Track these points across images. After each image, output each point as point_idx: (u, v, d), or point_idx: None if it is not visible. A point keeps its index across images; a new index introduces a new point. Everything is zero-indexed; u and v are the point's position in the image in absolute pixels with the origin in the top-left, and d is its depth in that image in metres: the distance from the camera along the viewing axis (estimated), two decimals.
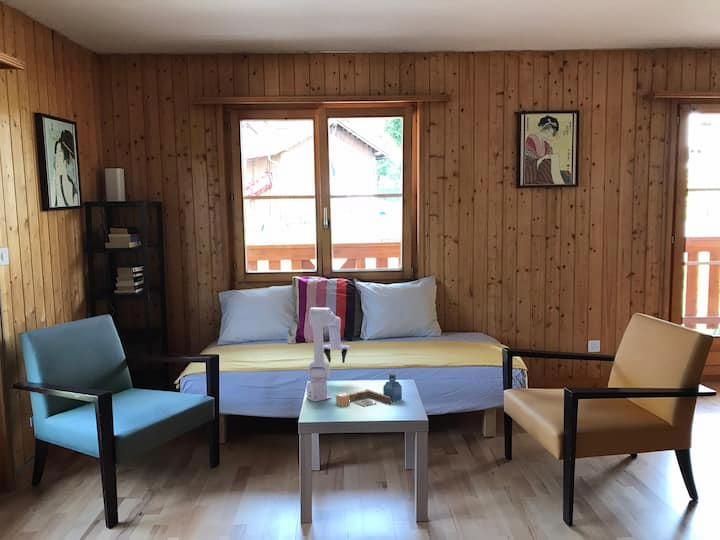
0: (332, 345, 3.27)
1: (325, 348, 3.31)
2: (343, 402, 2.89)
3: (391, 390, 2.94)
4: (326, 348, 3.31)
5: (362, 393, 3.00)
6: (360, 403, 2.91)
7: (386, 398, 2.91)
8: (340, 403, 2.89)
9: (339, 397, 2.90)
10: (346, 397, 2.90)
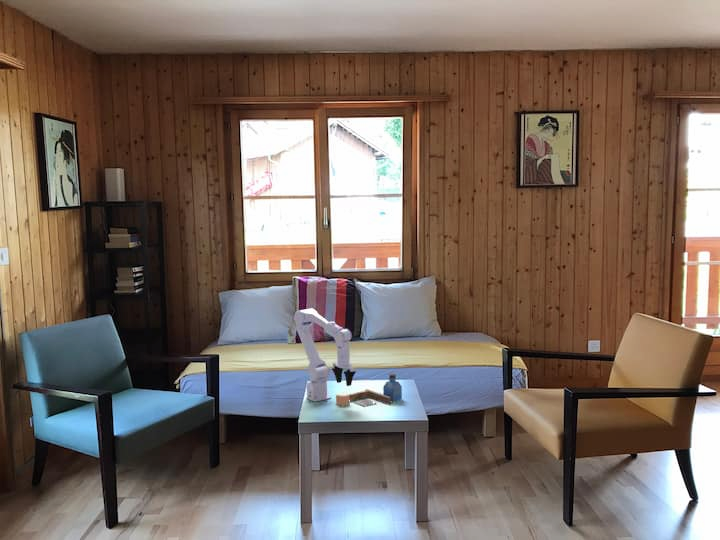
0: (337, 362, 2.89)
1: (336, 365, 2.95)
2: (343, 402, 2.89)
3: (391, 390, 2.94)
4: (336, 366, 2.94)
5: (362, 393, 3.00)
6: (360, 403, 2.91)
7: (386, 398, 2.91)
8: (340, 403, 2.89)
9: (339, 397, 2.90)
10: (346, 397, 2.90)
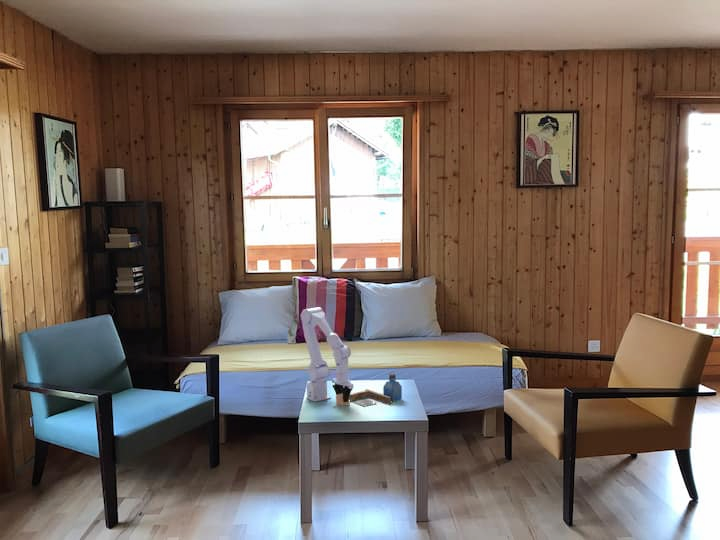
0: (336, 379, 2.90)
1: (335, 382, 2.95)
2: (343, 402, 2.89)
3: (391, 390, 2.94)
4: None
5: (362, 393, 3.00)
6: (360, 403, 2.91)
7: (386, 398, 2.91)
8: (340, 403, 2.89)
9: (339, 397, 2.90)
10: None
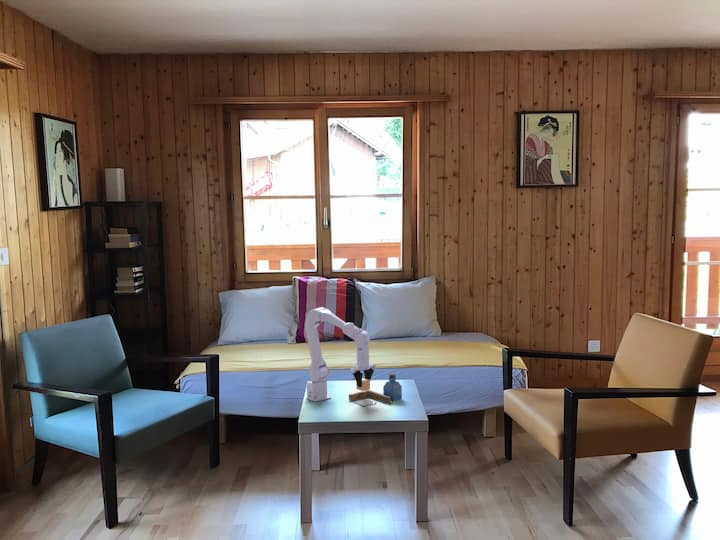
0: None
1: (371, 367, 2.95)
2: None
3: (391, 390, 2.94)
4: (370, 367, 2.94)
5: (362, 393, 3.00)
6: (360, 403, 2.91)
7: (386, 398, 2.91)
8: None
9: None
10: None
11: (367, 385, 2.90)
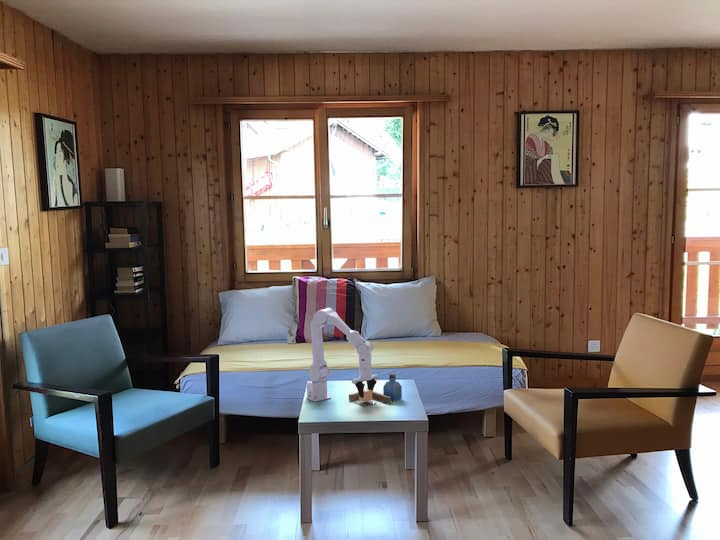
0: None
1: (374, 377, 2.95)
2: None
3: (391, 390, 2.94)
4: (373, 378, 2.95)
5: None
6: (360, 403, 2.91)
7: (386, 398, 2.91)
8: None
9: None
10: None
11: (369, 396, 2.91)
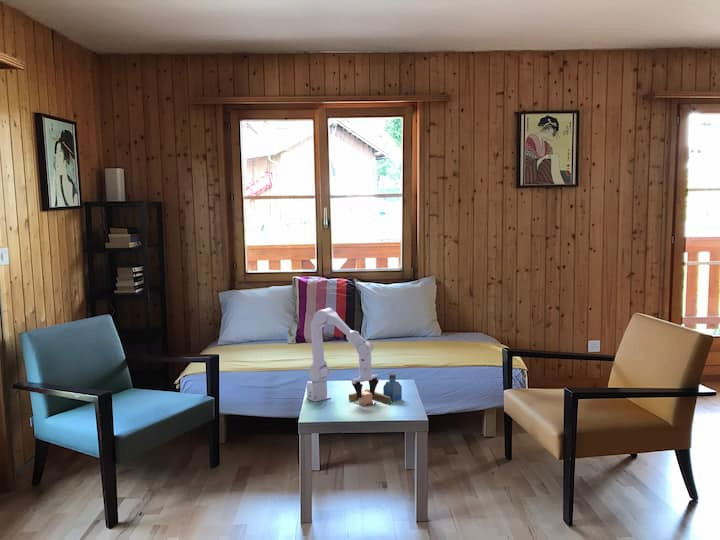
0: None
1: (374, 377, 2.95)
2: (360, 399, 2.92)
3: (391, 390, 2.94)
4: (373, 378, 2.95)
5: None
6: (360, 403, 2.91)
7: (386, 398, 2.91)
8: None
9: None
10: (362, 396, 2.90)
11: (369, 399, 2.91)
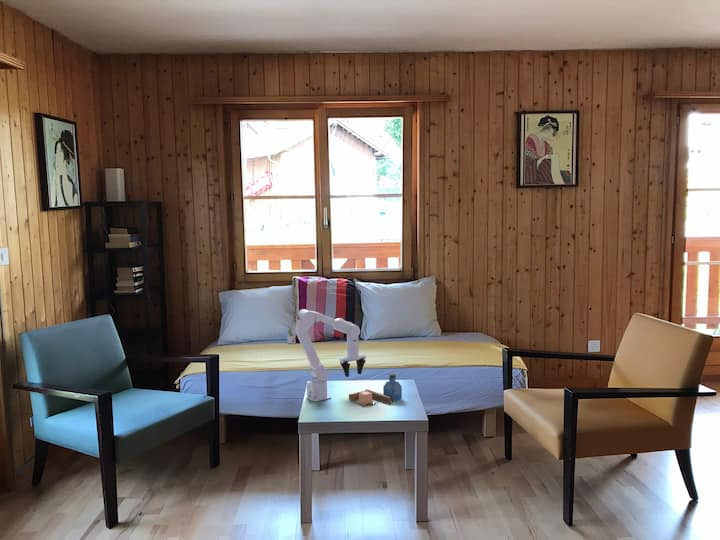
0: None
1: None
2: (360, 399, 2.92)
3: (391, 390, 2.94)
4: (360, 358, 3.11)
5: None
6: (360, 403, 2.91)
7: (386, 398, 2.91)
8: None
9: None
10: (362, 396, 2.90)
11: (369, 399, 2.91)
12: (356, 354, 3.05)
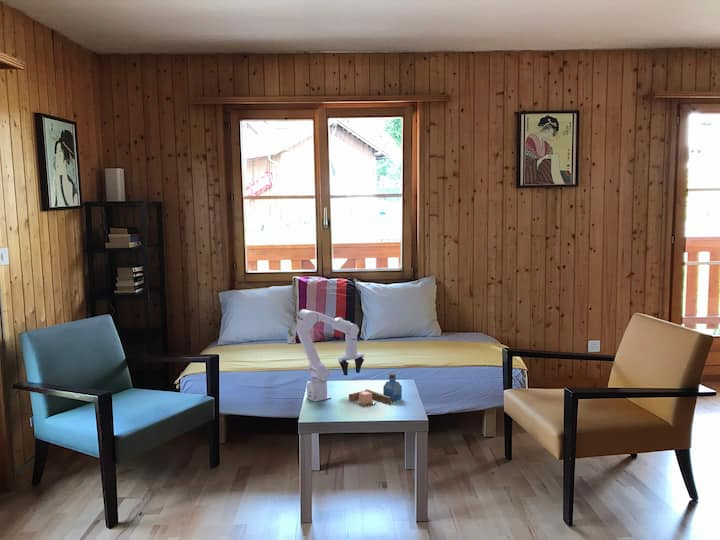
0: None
1: None
2: (360, 399, 2.92)
3: (391, 390, 2.94)
4: (359, 357, 3.13)
5: None
6: (360, 403, 2.91)
7: (386, 398, 2.91)
8: None
9: None
10: (362, 396, 2.90)
11: (369, 399, 2.91)
12: (354, 353, 3.07)
